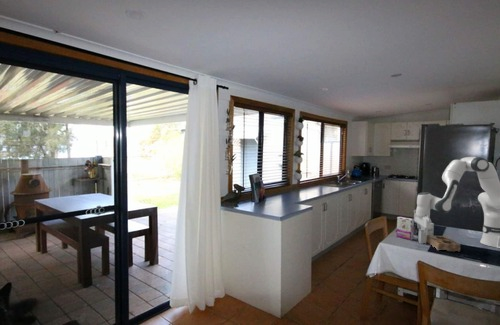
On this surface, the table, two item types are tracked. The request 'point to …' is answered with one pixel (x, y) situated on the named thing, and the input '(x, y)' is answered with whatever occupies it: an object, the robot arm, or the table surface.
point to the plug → (422, 236)
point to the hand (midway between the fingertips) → (421, 230)
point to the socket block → (442, 243)
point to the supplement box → (429, 231)
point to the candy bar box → (405, 228)
